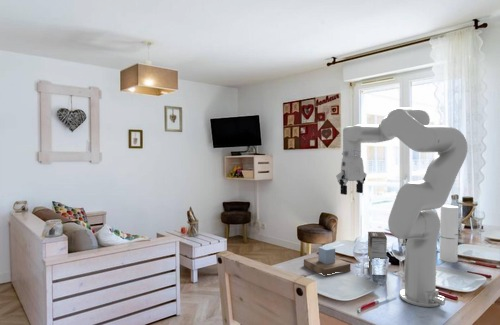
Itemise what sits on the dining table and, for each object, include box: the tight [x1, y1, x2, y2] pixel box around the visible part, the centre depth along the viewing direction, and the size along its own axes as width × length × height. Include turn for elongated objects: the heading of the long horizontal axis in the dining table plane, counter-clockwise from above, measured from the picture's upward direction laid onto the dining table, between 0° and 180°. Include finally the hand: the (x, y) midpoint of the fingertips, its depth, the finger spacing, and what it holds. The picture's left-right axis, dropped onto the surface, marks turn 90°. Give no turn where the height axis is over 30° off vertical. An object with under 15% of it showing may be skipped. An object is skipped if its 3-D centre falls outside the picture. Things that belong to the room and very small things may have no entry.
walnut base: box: [303, 255, 351, 275], centre depth 146 cm, size 14×14×3 cm
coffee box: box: [367, 231, 388, 276], centre depth 142 cm, size 9×6×16 cm
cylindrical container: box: [439, 204, 460, 263], centre depth 156 cm, size 7×7×25 cm
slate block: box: [317, 245, 336, 264], centre depth 146 cm, size 5×5×6 cm
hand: (351, 193), depth 148 cm, fingers open, 9 cm apart
